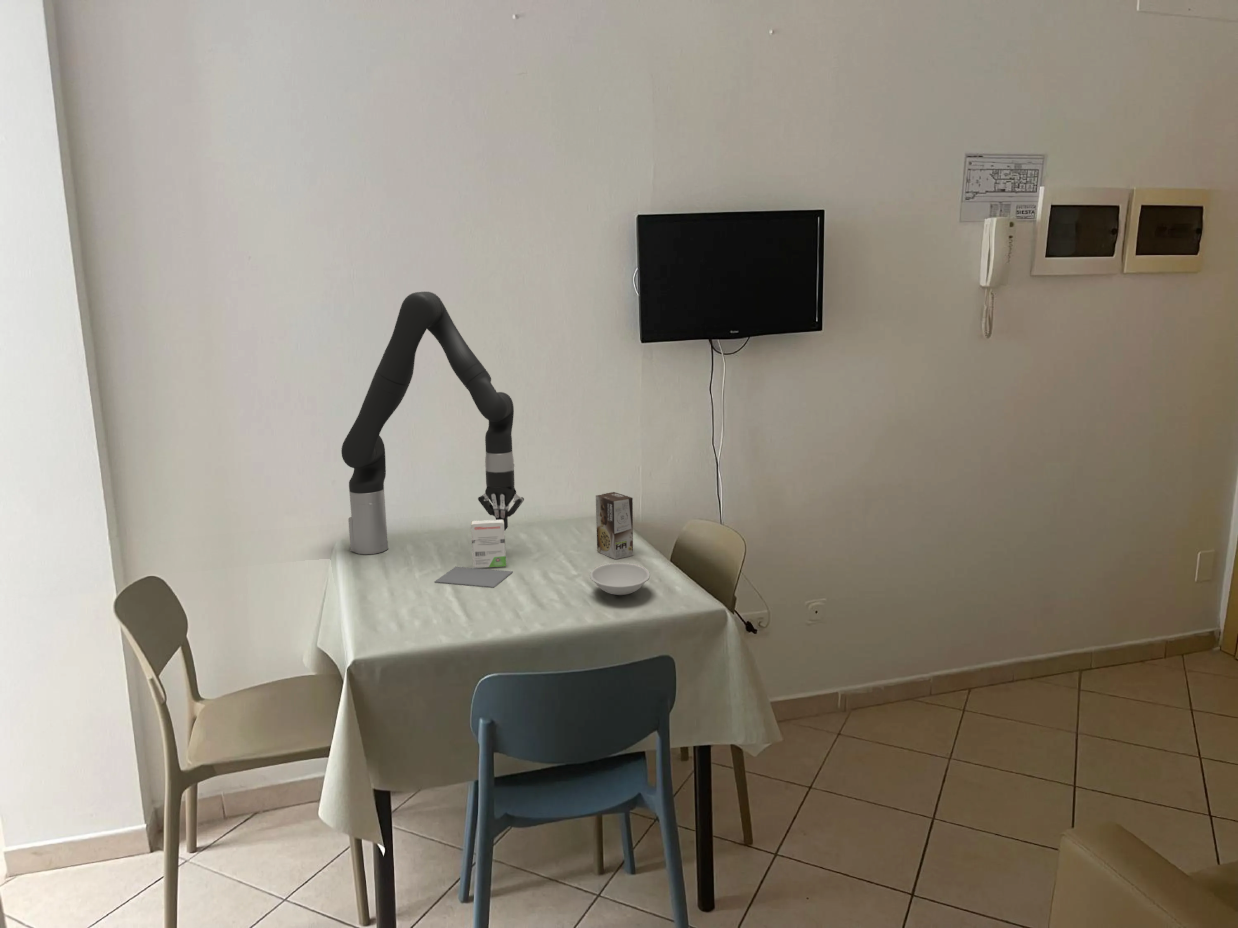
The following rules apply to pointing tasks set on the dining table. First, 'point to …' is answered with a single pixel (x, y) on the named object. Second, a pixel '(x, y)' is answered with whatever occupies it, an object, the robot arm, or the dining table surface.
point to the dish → (619, 577)
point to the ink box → (488, 543)
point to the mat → (474, 577)
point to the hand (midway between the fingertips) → (502, 530)
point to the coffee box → (614, 525)
